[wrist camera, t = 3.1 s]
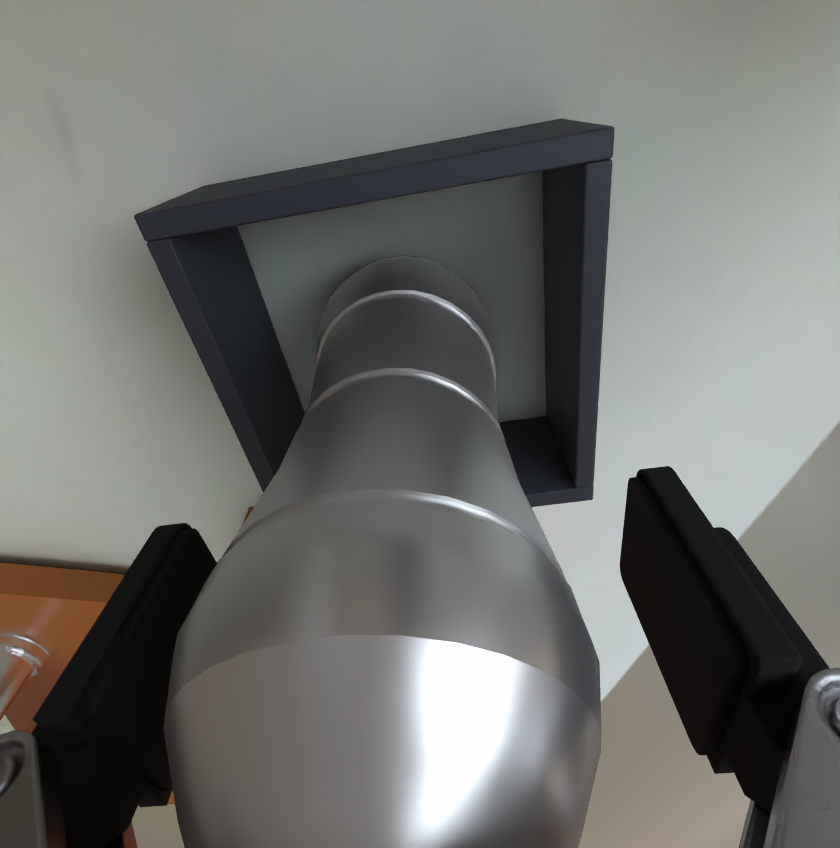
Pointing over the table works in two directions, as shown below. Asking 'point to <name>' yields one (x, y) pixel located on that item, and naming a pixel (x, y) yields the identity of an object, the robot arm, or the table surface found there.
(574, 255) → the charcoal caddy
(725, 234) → the table surface
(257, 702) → the metal bottle
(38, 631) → the desk clock
